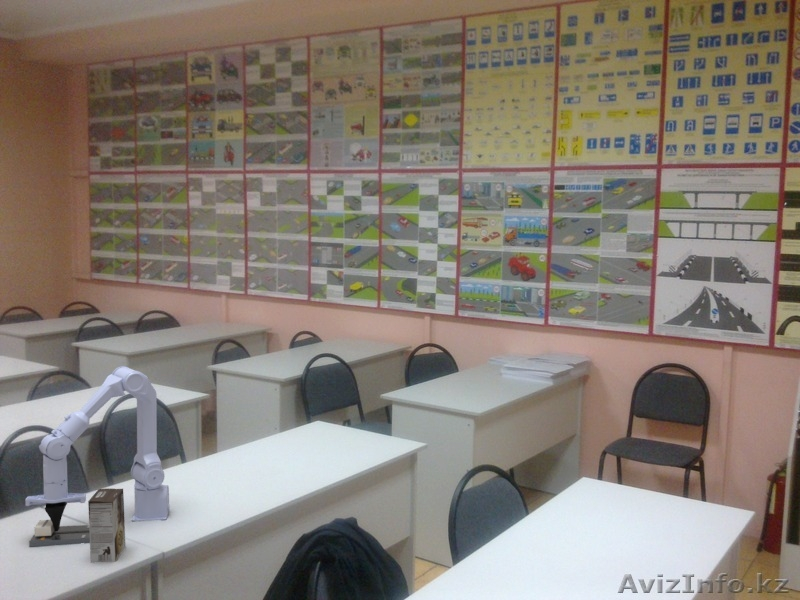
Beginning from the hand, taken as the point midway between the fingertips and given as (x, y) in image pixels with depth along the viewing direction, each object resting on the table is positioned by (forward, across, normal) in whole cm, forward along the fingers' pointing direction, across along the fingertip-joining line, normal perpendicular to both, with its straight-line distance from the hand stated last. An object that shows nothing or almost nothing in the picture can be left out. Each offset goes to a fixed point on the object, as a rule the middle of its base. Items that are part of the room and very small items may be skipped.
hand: (56, 529), depth 201 cm
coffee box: (+3, -15, +13) cm, 20 cm away
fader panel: (+2, -2, 0) cm, 3 cm away
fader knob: (0, +3, 0) cm, 3 cm away
